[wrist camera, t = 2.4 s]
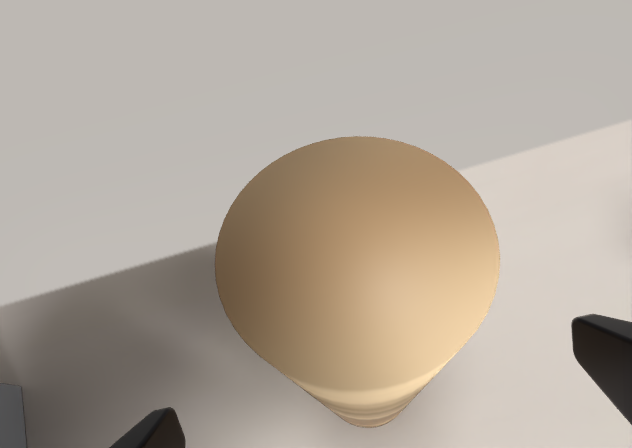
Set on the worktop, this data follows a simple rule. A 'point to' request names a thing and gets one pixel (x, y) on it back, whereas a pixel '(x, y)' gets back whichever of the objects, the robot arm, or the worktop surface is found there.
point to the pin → (358, 271)
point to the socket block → (11, 417)
